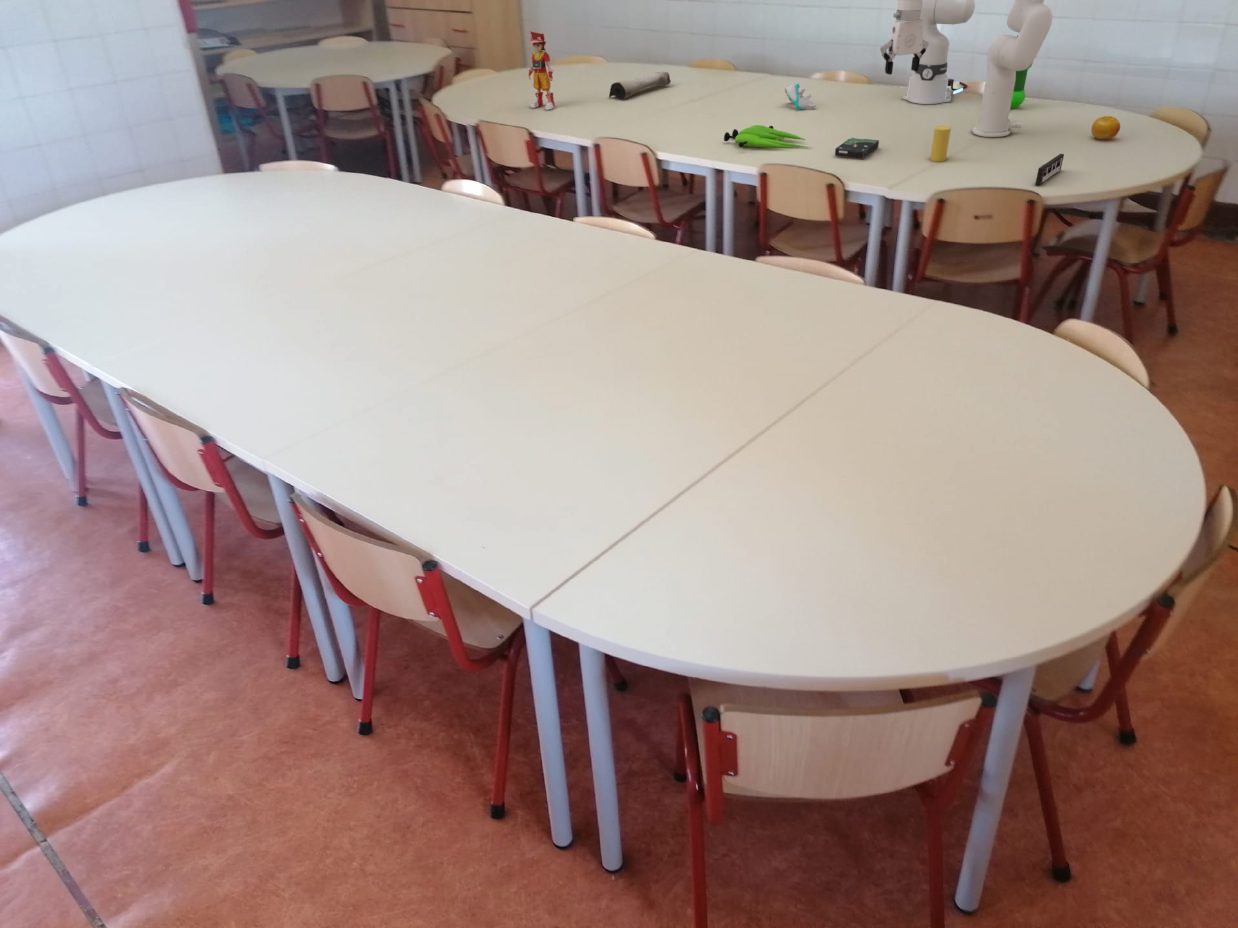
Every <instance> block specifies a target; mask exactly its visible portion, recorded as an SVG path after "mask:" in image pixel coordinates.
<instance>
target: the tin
mask: <svg viewBox="0 0 1238 928" xmlns="http://www.w3.org/2000/svg"><path fill="white" fill-rule="evenodd" d="M951 130H952V127H950V126H947V125H937V126H935V127H934V129H933V139H932V144H931V150H930V157H929V158H930V161H932V162H945V161H946V160H947V155H948V149H949V144H950V143H949V142H950V136H951Z"/></svg>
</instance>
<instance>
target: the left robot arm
mask: <svg viewBox="0 0 1238 928" xmlns="http://www.w3.org/2000/svg"><path fill="white" fill-rule="evenodd" d="M975 6H976V3H975V0H923V2H922V10H921V17H920V19H922V21H923V40H925V41H927V42H928V43H929V45H928V47H927V49H926V52H925V53H924V54H923V55H922V58H920V63H919V68H918V71H914V74H913V75H911V76H910V77H909V81H908V88H907V94H905V95H903V96H902V100H905V101H908V102H910V103H913V104H921V105H935V104H941V103H952V91H953V95H955V94H958V93H960V92H963V90H965V89H967V88H968V84H966V83H964V82H962V81H959V84H960V85H961V86H963V87H959V88H954V82H955V79H953V78H948V76H947V75H948V74H947V71H948V62H947V61H948V57H949V49H950V41H949V38H948V37H947V36H946V35H945V34H943V33H942V32H940V30H939V28H938V25H953V26H954V25H960V24H966V23H967V22H968V21H969V20H970V19H971V18H972V17H973V14H974V13H975V8H976V7H975ZM922 46H923V45H922ZM949 87H950V88H949Z"/></svg>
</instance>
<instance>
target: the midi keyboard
mask: <svg viewBox="0 0 1238 928" xmlns="http://www.w3.org/2000/svg"><path fill="white" fill-rule="evenodd" d="M1064 157H1065V153H1059V154H1058V155H1056V156H1055V157H1052V159H1051V160H1049V161H1047V162H1045V164H1042V165H1041V166H1039V167H1038V169H1037V175H1036V179H1035V186H1040V185H1042V183H1044V182H1045V181H1047V180H1048V179H1049V178H1051V177H1052V176H1054V175H1055V174H1056V173H1058V172H1060V171H1061V170H1062V165H1063V161H1064Z"/></svg>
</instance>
